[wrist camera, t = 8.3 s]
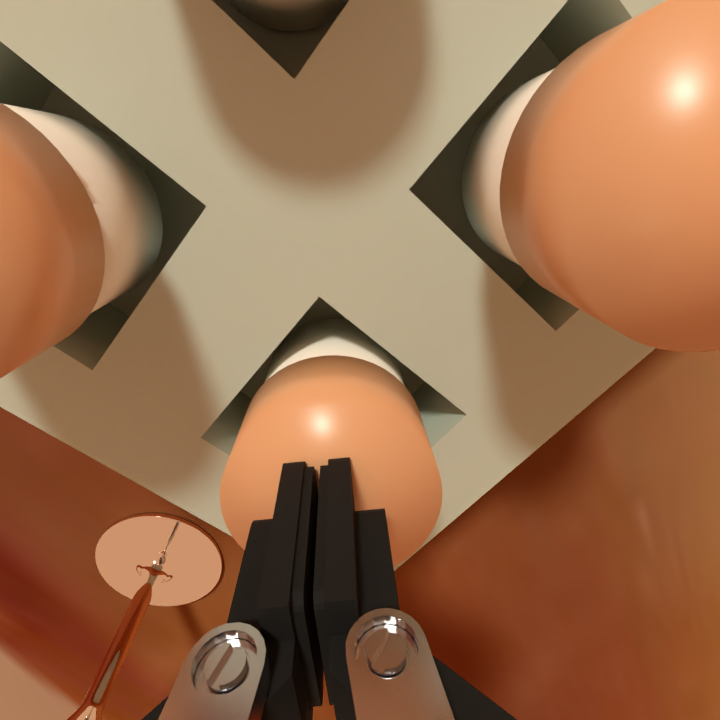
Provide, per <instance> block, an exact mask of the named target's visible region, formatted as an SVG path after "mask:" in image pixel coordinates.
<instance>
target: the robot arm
mask: <svg viewBox="0 0 720 720" xmlns="http://www.w3.org/2000/svg"><path fill="white" fill-rule="evenodd" d="M323 670H324V673H325V679H326V685H327V691H328V697H329V703H330V705H334V708H335V714H336V720H516V719H515V718H514V717H513V716H511V715H510V714H509V713H507V712H506V711H505V710H503V709H502V708H501V707H499V706H498V705H497V704H496V703H494V702H493V701H492V700H490V699H489V698H488V697H486V696H485V695H484V694H482V693H481V692H480V691H479V690H477V689H476V688H475V687H473V686H472V685H471V684H469V683H468V682H467V681H465V680H464V679H463V678H462V677H460V676H459V675H458V674H456V673H455V672H454V671H452V670H451V669H450V668H448V667H447V666H446V665H444V664H443V663H442V662H441V661H439V660H438V659H437V658H435V657H434V656H433V655H432V653H431V650H430V648H429V645H428V642H427V639H426V636H425V634H424V632H423V630H422V628H421V627H420V625H419V624H418V623H417V622H416V621H415V620H414V619H413V618H412V617H411V616H410V615H408V614H406V613H404V612H402V611H401V610H399V603H398V596H397V589H396V582H395V575H394V568H393V561H392V554H391V547H390V540H389V533H388V526H387V519H386V513H385V508H383V509H372V510H361V511H355V503H354V493H353V483H352V473H351V464H350V457H346V458H336V459H328V465H323V466H320V478H319V495H318V488H317V481H316V474H315V468H314V466H312V467H307V465H306V462H305V461H302V462H291V463H284V464H283V466H282V471H281V476H280V481H279V487H278V492H277V498H276V503H275V509H274V514H273V519H264V520H254V521H253V522H252V524H251V527H250V531H249V535H248V539H247V543H246V547H245V551H244V555H243V559H242V564H241V568H240V572H239V576H238V580H237V584H236V588H235V592H234V597H233V601H232V605H231V609H230V613H229V617H228V621H227V624H224V625H222V626H219V627H216V628H214V629H213V630H211V631H210V632H208V633H207V634H205V635H204V636H203V637H202V638H201V639H200V640H199V641H198V642H197V643H196V644H195V645H194V646H193V647H192V649H191V651H190V652H189V654H188V656H187V657H186V659H185V661H184V663H183V666H182V668H181V670H180V672H179V674H178V677H177V679H176V681H175V683H174V685H173V688H172V690H171V692H170V694H169V696H168V697H167V698H166V699H165V700H163V701H162V702H161V703H160V704H159V705H158V706H157V707H155V708H154V709H153V710H152V711H151V712H150V713H149V714H148V715H146V716H145V717H144V718H143V719H142V720H312V717H313V707H315V706H322V701H323Z"/></svg>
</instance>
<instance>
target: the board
mask: <svg viewBox="0 0 720 720" xmlns="http://www.w3.org/2000/svg"><path fill="white" fill-rule="evenodd" d="M664 1H666V0H349V1H348V3H347V4H346V6H345V7H344V8H343V10H342V11H341V12H340V13H339V14H338V15H336V16H335V17H334V18H332V19H331V20H329V21H327V22H325V23H323V24H321V25H319V26H316V27H313V28H310V29H306V30H299V31H284V30H278V29H273V28H270V27H266V26H263V25H261V24H259V23H257V22H255V21H253V20H251V19H249V18H248V17H246V16H245V15H243V14H242V13H240V12H239V11H238V10H237V9H236V8H235V7H233V6H232V5H231V4H230V3H229V2H228V1H227V0H0V103H2V104H7V105H13V106H18V107H23V108H28V109H33V110H38V111H43V112H49V113H54V114H59V115H64V116H68V117H72V118H75V119H79V120H81V121H84V122H86V123H89V124H91V125H93V126H95V127H97V128H98V129H100V130H102V131H104V132H105V133H107V134H108V135H110V136H111V137H112V138H114V139H115V140H116V141H118V142H119V143H120V144H121V145H122V146H123V147H124V148H125V149H127V151H128V152H129V153H130V154H131V155H132V156H133V157H134V158H135V159H136V161H137V162H138V163H139V165H140V166H141V167H142V169H143V170H144V172H145V173H146V175H147V177H148V179H149V180H150V182H151V184H152V186H153V189H154V191H155V193H156V196H157V199H158V202H159V206H160V210H161V215H162V225H163V235H162V244H161V248H160V253H159V255H158V258H157V260H156V263H155V265H154V266H153V268H152V270H151V272H150V273H149V274H148V275H147V276H146V278H145V279H144V280H143V281H142V282H141V283H140V284H138V285H137V286H136V287H134V288H133V289H131V290H130V291H128V292H127V293H125V294H123V295H121V296H120V297H118V298H116V299H114V300H113V301H111V302H109V303H108V304H106V305H104V306H102V307H101V308H99V309H97V310H96V311H94V312H92V313H90V315H89V316H88V317H87V318H86V320H85V321H84V322H83V324H82V325H81V326H80V327H79V328H78V329H76V330H75V331H74V332H73V333H72V334H71V335H69V336H68V337H66V338H65V339H63V340H62V341H60V342H59V343H57V344H55V345H54V346H52V347H51V348H49V349H47V350H46V351H44V352H42V353H41V354H39V355H38V356H36V357H34V358H33V359H31V360H30V361H28V362H26V363H25V364H23V365H21V366H20V367H18V368H17V369H15V370H13V371H12V372H10V373H8V374H7V375H5V376H4V377H2V378H0V407H2V408H4V409H5V410H7V411H9V412H11V413H13V414H14V415H16V416H18V417H20V418H21V419H23V420H25V421H27V422H29V423H30V424H32V425H34V426H36V427H38V428H39V429H41V430H43V431H45V432H46V433H48V434H50V435H52V436H54V437H55V438H57V439H59V440H61V441H63V442H64V443H66V444H68V445H70V446H71V447H73V448H75V449H77V450H79V451H80V452H82V453H84V454H86V455H88V456H89V457H91V458H93V459H95V460H96V461H98V462H100V463H102V464H104V465H105V466H107V467H109V468H111V469H113V470H114V471H116V472H118V473H120V474H121V475H123V476H125V477H127V478H129V479H130V480H132V481H134V482H136V483H138V484H139V485H141V486H143V487H145V488H146V489H148V490H150V491H152V492H154V493H155V494H157V495H159V496H161V497H163V498H164V499H166V500H168V501H170V502H171V503H173V504H175V505H177V506H179V507H180V508H182V509H184V510H186V511H188V512H189V513H191V514H193V515H195V516H196V517H198V518H200V519H202V520H204V521H205V522H207V523H209V524H211V525H213V526H214V527H216V528H218V529H220V530H221V531H223V532H225V533H227V534H229V535H230V536H232V535H231V534H230V532H229V530H228V528H227V526H226V524H225V521H224V518H223V515H222V512H221V506H220V485H221V479H222V476H223V473H224V470H225V467H226V464H227V462H228V459H229V456H230V454H231V451H232V449H233V446H234V443H235V441H236V438H237V435H238V433H239V430H240V428H241V425H242V422H243V420H244V417H245V415H246V412H247V409H248V407H249V404H250V402H251V401H252V399H253V397H254V395H255V394H256V392H257V391H258V390H259V388H260V387H261V386H262V385H263V384H264V382H265V379H266V376H267V373H268V370H269V368H270V365H271V362H272V359H273V356H274V354H275V352H276V350H277V349H278V347H279V346H280V345H281V343H282V342H283V341H284V340H285V339H286V338H287V337H288V336H289V335H290V334H291V333H293V332H294V331H295V330H297V329H299V328H300V327H302V326H304V325H307V324H309V323H312V322H315V321H319V320H325V319H344V320H349V321H350V322H352V323H353V324H354V325H355V326H357V327H358V328H359V329H360V330H362V331H363V332H364V333H365V334H367V335H368V336H369V337H370V338H372V339H373V340H374V341H375V342H377V343H378V344H379V345H380V346H382V347H383V348H384V349H385V350H387V351H388V352H389V353H390V354H392V355H393V356H394V357H395V358H396V359H397V362H398V365H399V368H400V372H401V375H402V378H403V382H404V385H405V387H406V388H407V389H408V390H409V392H410V393H411V395H412V397H413V398H414V400H415V402H416V405H417V407H418V409H419V412H420V415H421V418H422V421H423V424H424V427H425V430H426V433H427V436H428V440H429V443H430V446H431V449H432V452H433V455H434V458H435V461H436V464H437V467H438V470H439V474H440V478H441V482H442V493H443V494H442V505H441V509H440V513H439V517H438V519H437V522H436V524H435V526H434V528H433V530H432V531H431V533H430V535H429V536H428V538H427V539H426V540H425V541H424V543H423V544H422V545H421V546H420V547H419V548H418V549H417V550H416V551H415V552H414V553H413V554H412V555H414V554H415V553H416V552H417V551H418V550H419V549H421V548H422V547H423V546H424V545H425V544H426V543H428V542H429V541H430V540H431V539H432V538H434V537H435V536H436V535H437V534H438V533H439V532H441V531H442V530H443V529H444V528H445V527H446V526H448V525H449V524H450V523H451V522H452V521H453V520H455V519H456V518H457V517H458V516H459V515H461V514H462V513H463V512H464V511H465V510H466V509H468V508H469V507H470V506H471V505H472V504H473V503H475V502H476V501H477V500H478V499H479V498H480V497H482V496H483V495H484V494H485V493H486V492H487V491H489V490H490V489H491V488H492V487H493V486H495V485H496V484H497V483H498V482H499V481H500V480H502V479H503V478H504V477H505V476H506V475H507V474H509V473H510V472H511V471H512V470H513V469H514V468H516V467H517V466H518V465H519V464H520V463H521V462H523V461H524V460H525V459H526V458H527V457H529V456H530V455H531V454H532V453H533V452H534V451H536V450H537V449H538V448H539V447H540V446H541V445H543V444H544V443H545V442H546V441H547V440H548V439H550V438H551V437H552V436H553V435H554V434H556V433H557V432H558V431H559V430H560V429H561V428H563V427H564V426H565V425H566V424H567V423H568V422H570V421H571V420H572V419H573V418H574V417H575V416H577V415H578V414H579V413H580V412H581V411H582V410H584V409H585V408H586V407H587V406H588V405H590V404H591V403H592V402H593V401H594V400H595V399H597V398H598V397H599V396H600V395H601V394H602V393H604V392H605V391H606V390H607V389H608V388H609V387H611V386H612V385H613V384H614V383H615V382H616V381H618V380H619V379H620V378H621V377H622V376H624V375H625V374H626V373H627V372H628V371H629V370H631V369H632V368H633V367H634V366H635V365H636V364H638V363H639V362H640V361H641V360H642V359H643V358H645V357H646V356H647V355H648V354H649V353H651V352H652V351H653V350H654V349H655V348H654V347H650V346H647V345H644V344H642V343H639V342H637V341H635V340H632V339H630V338H628V337H626V336H625V335H623V334H621V333H620V332H618V331H616V330H614V329H613V328H611V327H609V326H608V325H606V324H604V323H602V322H601V321H599V320H597V319H596V318H594V317H592V316H590V315H589V314H587V313H585V312H584V311H582V310H580V309H578V308H577V307H575V306H573V305H572V304H570V303H568V302H567V301H565V300H563V299H561V298H560V297H558V296H556V295H555V294H553V293H551V292H550V291H548V290H546V289H545V288H543V287H541V286H540V285H539V284H538V283H537V282H536V281H534V280H533V279H532V278H531V277H530V276H529V275H528V274H527V273H526V271H525V270H524V269H523V268H522V267H521V266H520V265H518V264H516V263H514V262H512V261H510V260H508V259H507V258H505V257H503V256H501V255H499V254H498V253H496V252H495V251H493V250H492V249H490V248H489V247H488V246H487V245H486V244H485V243H484V242H483V241H482V240H481V239H480V238H479V237H478V235H477V234H476V232H475V231H474V229H473V228H472V226H471V224H470V222H469V219H468V217H467V214H466V211H465V208H464V203H463V197H462V170H463V165H464V160H465V156H466V153H467V150H468V146H469V144H470V142H471V139H472V137H473V135H474V133H475V131H476V129H477V128H478V126H479V124H480V122H481V121H482V119H483V118H484V117H485V115H486V114H487V113H488V112H489V110H490V109H491V108H492V107H493V106H494V105H495V104H496V103H497V102H498V101H499V100H500V99H501V98H502V97H503V96H505V95H506V94H507V93H508V92H509V91H511V90H513V89H514V88H516V87H517V86H519V85H520V84H522V83H524V82H527V81H529V80H531V79H533V78H535V77H537V76H539V75H542V74H544V73H546V72H548V71H550V70H552V69H554V68H556V67H557V66H558V65H559V64H560V63H561V62H562V61H563V60H564V59H566V58H567V57H568V56H569V55H570V54H572V53H573V52H574V51H575V50H577V49H578V48H579V47H581V46H582V45H584V44H585V43H587V42H588V41H590V40H592V39H593V38H595V37H596V36H598V35H600V34H602V33H604V32H606V31H608V30H610V29H612V28H614V27H616V26H618V25H619V24H621V23H623V22H625V21H627V20H629V19H631V18H633V17H635V16H637V15H639V14H641V13H643V12H645V11H647V10H649V9H650V8H652V7H654V6H656V5H658V4H660V3H662V2H664ZM232 537H233V536H232ZM412 555H411V556H412ZM411 556H409V557H408V558H407V559H405V560H404V561H403V562H401V563H399V564H398V565H396V566H394V567H393V568H394V571H395V570H396V569H397V568H398V567H400V566H401V565H402V564H403V563H404V562H405V561H407V560H408V559H409V558H410V557H411Z"/></svg>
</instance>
